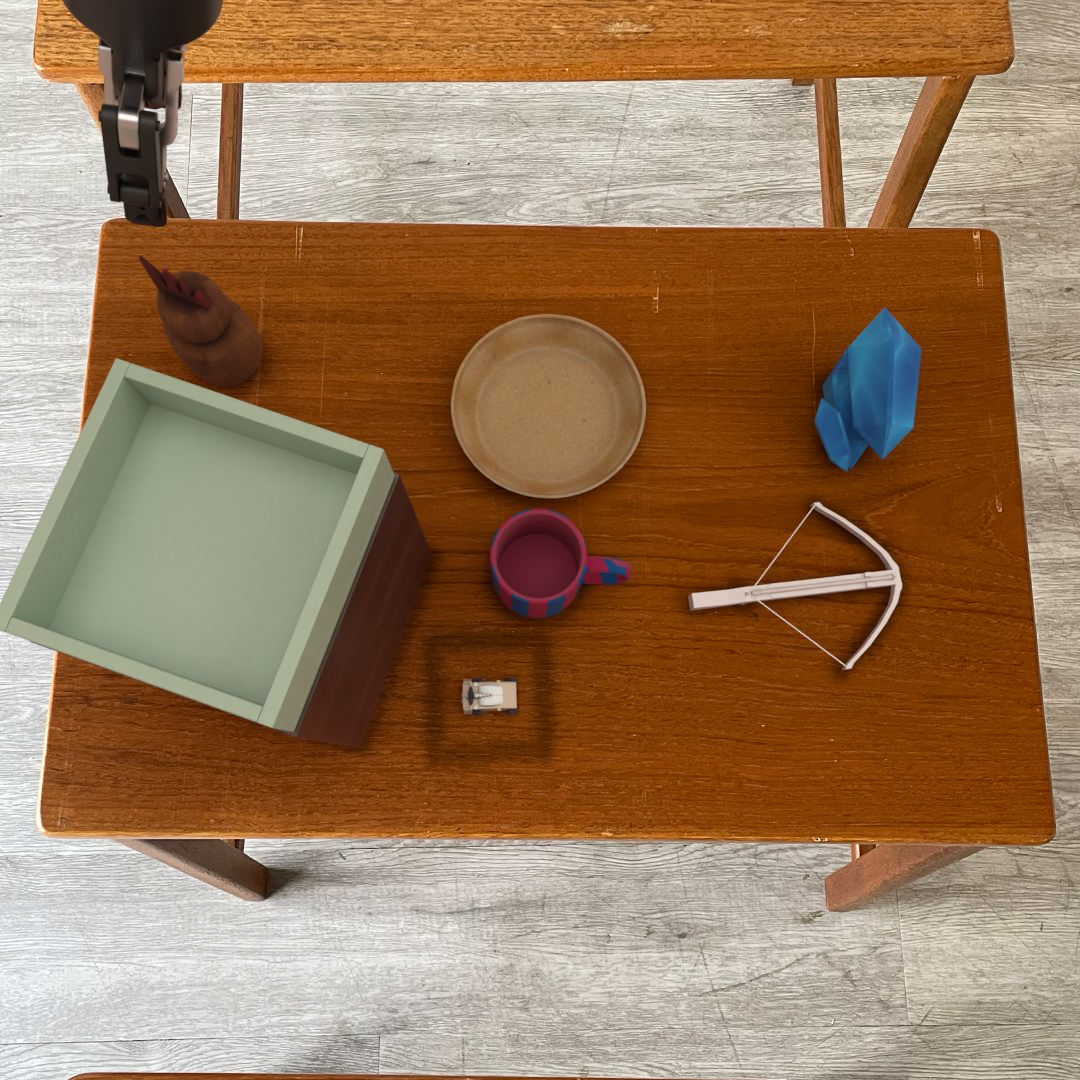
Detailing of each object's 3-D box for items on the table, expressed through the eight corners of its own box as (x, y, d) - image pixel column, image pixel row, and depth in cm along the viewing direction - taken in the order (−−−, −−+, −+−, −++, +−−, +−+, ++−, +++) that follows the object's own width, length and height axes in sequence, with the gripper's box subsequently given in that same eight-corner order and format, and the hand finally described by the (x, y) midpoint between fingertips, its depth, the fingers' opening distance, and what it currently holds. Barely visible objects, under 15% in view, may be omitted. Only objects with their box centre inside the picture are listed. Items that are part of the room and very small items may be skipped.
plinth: (167, 679, 76) (29, 641, 54) (247, 492, 79) (146, 387, 58) (359, 748, 75) (296, 737, 54) (432, 556, 78) (399, 473, 57)
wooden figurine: (173, 354, 81) (97, 262, 67) (229, 307, 82) (166, 206, 68) (229, 413, 80) (165, 332, 66) (286, 364, 81) (234, 274, 67)
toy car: (517, 714, 76) (517, 712, 74) (462, 715, 76) (460, 714, 74) (516, 678, 76) (516, 675, 74) (461, 679, 76) (460, 677, 74)
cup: (503, 522, 79) (502, 499, 72) (632, 551, 79) (642, 530, 72) (483, 607, 77) (479, 591, 71) (614, 637, 77) (623, 623, 70)
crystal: (828, 468, 73) (831, 297, 73) (796, 474, 82) (798, 322, 82) (933, 469, 73) (935, 299, 73) (889, 476, 82) (892, 324, 82)
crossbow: (875, 500, 81) (886, 493, 79) (909, 662, 78) (921, 659, 76) (675, 522, 79) (681, 515, 77) (702, 688, 76) (709, 685, 74)
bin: (34, 639, 54) (-12, 626, 50) (148, 391, 57) (115, 357, 53) (293, 732, 54) (272, 728, 49) (395, 475, 57) (384, 449, 52)
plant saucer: (432, 352, 82) (429, 338, 79) (611, 308, 83) (614, 293, 80) (479, 528, 79) (478, 519, 76) (665, 479, 80) (670, 470, 77)
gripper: (64, -222, 48) (100, 56, 62) (16, 6, 42) (68, 252, 57) (235, -180, 50) (231, 80, 64) (209, 43, 44) (212, 271, 59)
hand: (155, 160), depth 60 cm, fingers open, 8 cm apart
